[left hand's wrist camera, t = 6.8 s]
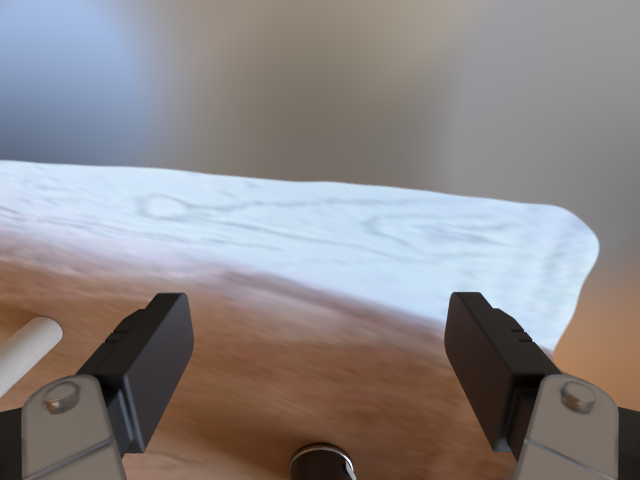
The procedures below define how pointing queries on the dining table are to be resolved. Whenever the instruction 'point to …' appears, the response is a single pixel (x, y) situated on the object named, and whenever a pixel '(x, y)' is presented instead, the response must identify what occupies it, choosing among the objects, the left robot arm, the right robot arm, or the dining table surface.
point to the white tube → (26, 349)
